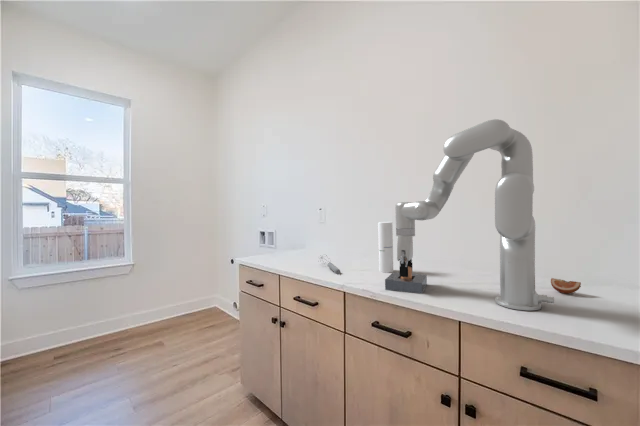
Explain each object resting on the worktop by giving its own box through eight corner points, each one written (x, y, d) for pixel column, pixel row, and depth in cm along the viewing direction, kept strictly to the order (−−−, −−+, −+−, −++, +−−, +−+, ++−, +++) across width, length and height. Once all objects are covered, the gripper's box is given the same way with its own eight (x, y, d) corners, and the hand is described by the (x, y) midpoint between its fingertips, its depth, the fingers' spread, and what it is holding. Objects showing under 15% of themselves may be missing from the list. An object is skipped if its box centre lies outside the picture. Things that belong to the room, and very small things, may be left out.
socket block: (426, 284, 123) (426, 274, 123) (422, 293, 111) (421, 282, 110) (393, 281, 129) (393, 272, 129) (385, 289, 117) (385, 279, 117)
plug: (413, 286, 121) (412, 266, 121) (411, 289, 117) (410, 269, 117) (402, 285, 123) (401, 266, 123) (400, 287, 119) (399, 268, 119)
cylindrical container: (393, 272, 146) (392, 222, 145) (379, 272, 147) (378, 222, 147) (393, 269, 153) (392, 221, 152) (379, 269, 154) (378, 222, 154)
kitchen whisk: (334, 276, 143) (333, 263, 143) (316, 264, 176) (316, 253, 176) (345, 275, 145) (345, 262, 145) (326, 263, 177) (326, 253, 177)
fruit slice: (582, 294, 105) (582, 280, 105) (579, 298, 101) (579, 283, 101) (552, 289, 111) (552, 276, 111) (549, 293, 107) (548, 279, 107)
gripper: (400, 230, 129) (401, 269, 129) (391, 234, 114) (392, 278, 114) (418, 230, 126) (419, 270, 126) (411, 234, 110) (412, 279, 110)
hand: (406, 274), depth 120 cm, fingers open, 9 cm apart
